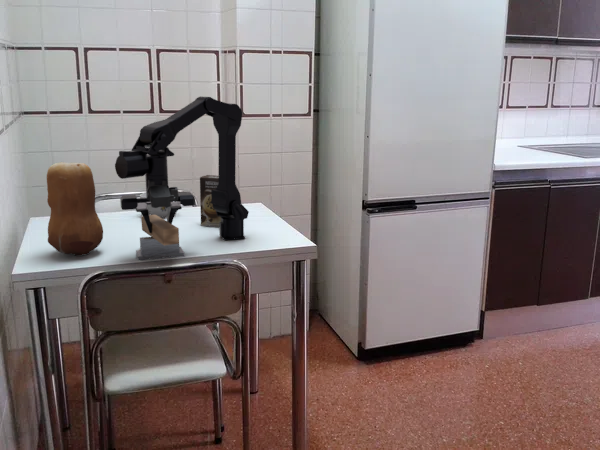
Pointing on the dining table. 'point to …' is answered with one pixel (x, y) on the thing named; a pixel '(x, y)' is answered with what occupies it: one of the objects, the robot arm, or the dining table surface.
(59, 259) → the dining table surface
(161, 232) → the batten
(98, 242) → the butternut squash
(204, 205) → the coffee box
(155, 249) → the ridge
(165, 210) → the teacup
